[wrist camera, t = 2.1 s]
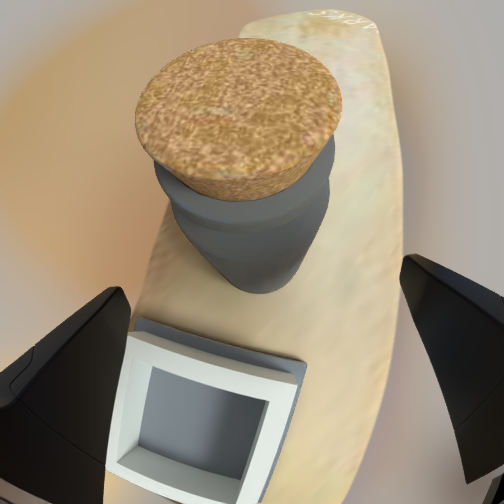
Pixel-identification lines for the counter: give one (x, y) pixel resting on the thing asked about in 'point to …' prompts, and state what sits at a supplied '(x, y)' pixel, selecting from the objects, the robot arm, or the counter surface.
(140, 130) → the bottle
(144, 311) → the counter surface
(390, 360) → the counter surface
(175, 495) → the holder
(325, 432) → the counter surface
